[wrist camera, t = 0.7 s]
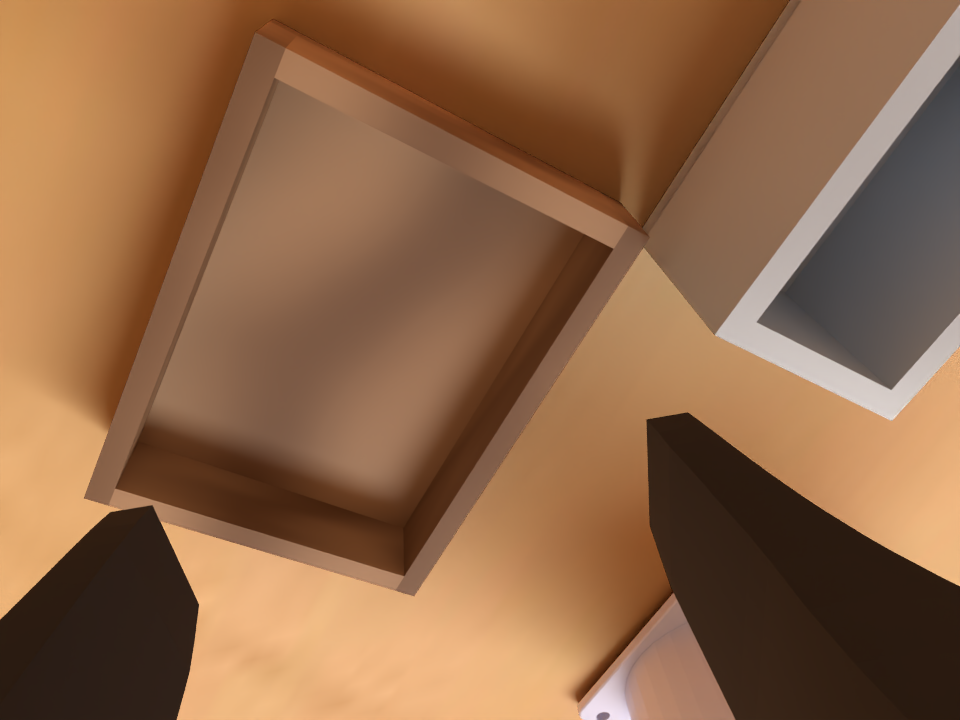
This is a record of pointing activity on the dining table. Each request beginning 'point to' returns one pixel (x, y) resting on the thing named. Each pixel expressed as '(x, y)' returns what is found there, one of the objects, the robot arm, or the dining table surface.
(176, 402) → the walnut crate
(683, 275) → the small crate
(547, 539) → the dining table surface
